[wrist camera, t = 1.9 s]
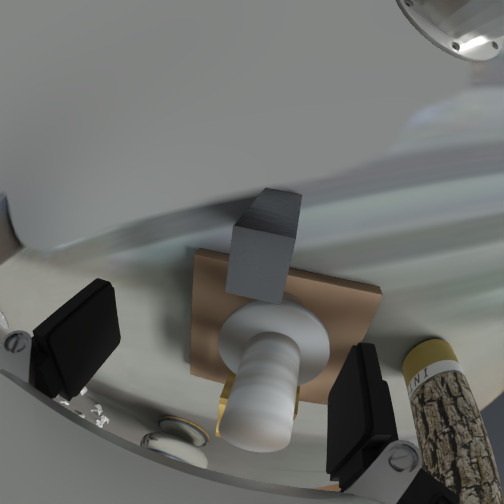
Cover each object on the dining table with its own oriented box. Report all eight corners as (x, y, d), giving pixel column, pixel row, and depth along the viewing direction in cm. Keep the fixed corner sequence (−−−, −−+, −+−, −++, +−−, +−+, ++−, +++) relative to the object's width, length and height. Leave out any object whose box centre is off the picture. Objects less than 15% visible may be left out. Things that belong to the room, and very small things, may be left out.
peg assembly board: (200, 243, 28) (107, 344, 14) (381, 282, 26) (424, 413, 12) (194, 367, 35) (146, 463, 21) (328, 397, 33) (322, 503, 19)
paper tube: (454, 330, 26) (522, 523, 3) (444, 370, 28) (486, 541, 6) (403, 341, 28) (443, 560, 5) (398, 380, 30) (418, 566, 7)
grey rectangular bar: (265, 187, 25) (233, 225, 15) (302, 195, 24) (295, 238, 14) (258, 230, 26) (225, 292, 16) (293, 237, 26) (280, 304, 16)
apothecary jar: (208, 453, 46) (181, 526, 30) (152, 430, 46) (116, 499, 30) (222, 430, 41) (190, 521, 24) (155, 402, 41) (109, 486, 25)
